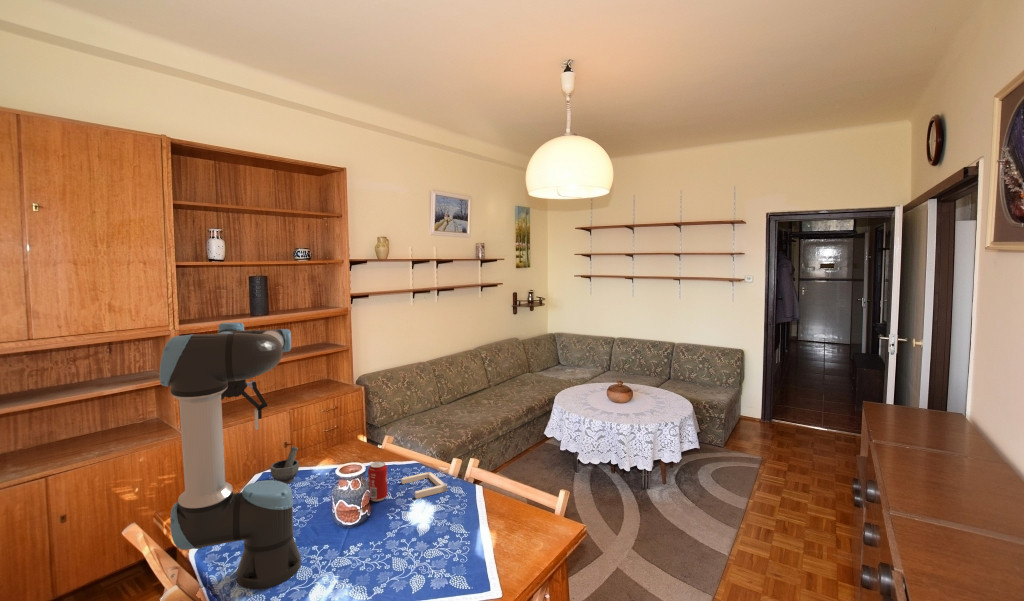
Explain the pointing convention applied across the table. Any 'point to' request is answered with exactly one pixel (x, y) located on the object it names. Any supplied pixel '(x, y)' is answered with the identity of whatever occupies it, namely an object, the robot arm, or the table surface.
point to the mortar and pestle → (286, 468)
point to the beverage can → (377, 481)
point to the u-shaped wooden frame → (429, 491)
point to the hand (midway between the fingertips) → (233, 432)
